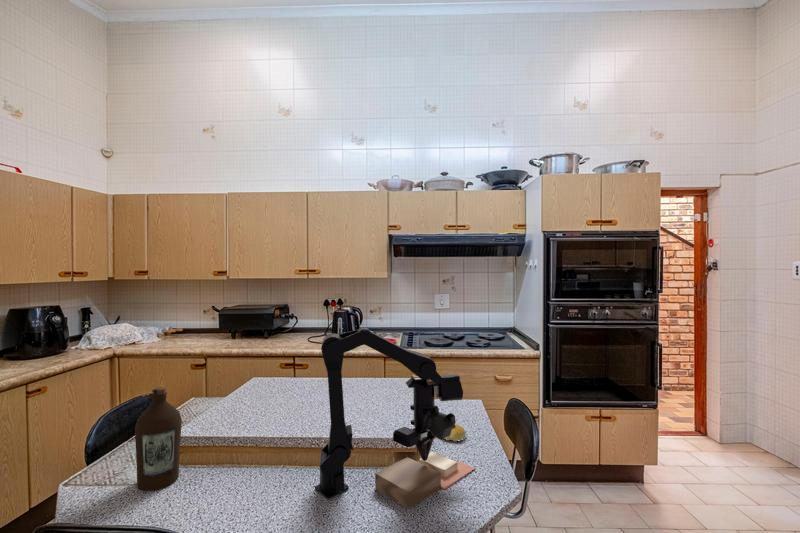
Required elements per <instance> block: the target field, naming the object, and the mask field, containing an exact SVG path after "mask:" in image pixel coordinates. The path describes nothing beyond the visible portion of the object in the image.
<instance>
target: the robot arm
mask: <svg viewBox="0 0 800 533" xmlns="http://www.w3.org/2000/svg"><path fill="white" fill-rule="evenodd" d="M364 345H365V346H367V347H369V349H370V348H371V349H373V350H374V351H377V352H378V353H380V354H382V355H384V356H386V357H388V358H390V359H392V360H394V361H396V362H398V363H400V364H402V365H403V366H404V367H405V368H406V369H408V370H409V371H410V372H411V373H412V374H414V375H415V376H416V377H418V378H415V377H413V376H410V378H409V379H408V380H407V381H406V382H405V384H406V386H407V387H408V388H409V389H410V388H411V389H412V390H413V392H412V393H413V404H411V405H409V406H410V410H411V411H413V419H411V420H410V423H411V425H413V426H414V427H415V428H413V429H410V428H408V427H405V426H404V427H401V428H399V429H397V430H396V429H395V430H394V431H393V432H392V442H395V443H396V444H398V443H399V444H401V445H403V446H406V447H412V446H414V445H416V449H417V452H418V454H419V456H420V458H422V460H424V461H426V460H427V459H428V455H429V453H431V448H432V445H433V442H434V440H435V439H438V440H443V439H444V438H445V437H447V436H450V434H451V431H452V429H454V428H455V427H456V426H455V425H456V421H457V420H456V416H455V414H454V413H452V412H450V413H448V414H446V413H443V412H440V411H439V410H440V408H439V406H438V405H435V397H436V399H437V398H438V399H439V401H440V402H448V401H449V402H450V401H451V402H452V401H462V399H463V397H464V389H463V385H462V382H461V377H460V375H459V374H457V373H456V374H450V375H441V374H440V373H439V372H438V371H437V365H436V362H435V360H433V359H431V357H430V356H428V355H427V354H426V353H422V352H417V351H415V350H412V349H411V350H410V349H406V348H404V347H402V346H401V345H398V344H396V343H394V342H392V341H391V340H390V339H386V338H385V337H383V336H381V335H379V334H377V333H375V332H373V331H371V330H370V329H369V328H367V327H360V328H358V329H355V330H351V331H347V332H346V331H345V332H341V333H332V332H331V333H329V334H327V335H325V336H324V338H323V339H322V342H321V347H320V348H321V353H322V354H321V355H322V359H323V362H324V363H323V364H324V366H325V369H326V374H327V384H328V385H327V386H328V398H329V400H328V401H329V402H328V403H329V415H330V425H329V426H330V427H329V432H328V433H329V435H328V442H327V443H326V444H325V445H324V446H323V448H321V450H320V455H319V456H320V459H319V484H317V485H314V489H315V491H317V492H319V493H320V494H321V495H323V497H325V498H326V499H331V498H333V497H335V496H337V495H339V494H341V493H343V492H345V491H347V490H348V489H349V487H350V486H349V485H348V484H346V483H345V473H344V472H345V466H344V465H345V463H346V462H348V461H349V458H351V456H352V451H354V450H355V448H354V441H353V440H354V439H353V426H352V424H348V425H347V423H346V421H345V406H344V394H343V377H342V376H343V374H342V370H343V363H344V354H345V353H347V352H349V351H352V350H354V349H356V348H358V347H361V346H364Z"/></svg>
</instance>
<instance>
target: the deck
mask: <svg viewBox="0 0 800 533" xmlns="http://www.w3.org/2000/svg"><path fill="white" fill-rule="evenodd" d="M374 474H375V475H374V476H375V477H374V479H375V482H374V484H375V485H374V487H375V488H374V490H377V491H378V492H380V493H382V494H383V495H385V496H386V497H388V498H390V499H391V500H393V501H394V502H396V503H397V504H400V505H401V506H403V507H405V509H407V510H410V509H411V508H413V507H415V506H417V505H418V504H420V503H421V502H422V501H424V500H426V499H428V497H430V496H432V495H433V494H435V493H436V492H438V491H440V490H442V488H441V473H440V472H438V471H435V470H433V469H431V468H429V467H427V466H425V465H423V464H421V463H419V461H417V460H414V459H412V458H410V457H405V458H403V459H401V460H399V461H397V462H395V463H393V464H390V465H389V466H387V467H385V468H383V469H381V470H379V471H377V472H375V473H374Z"/></svg>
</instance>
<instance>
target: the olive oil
mask: <svg viewBox="0 0 800 533" xmlns="http://www.w3.org/2000/svg"><path fill="white" fill-rule="evenodd" d="M151 391H152V392H151V393H152V394H151V403H150V404H149V406H148V407H147V408H146V409H145V410H144V411H143V412H142V413H141V414H140V415H139V417H138V418H137V421H136V423H135V426H134V439H135V440H134V441H135V442H134V443H135V459H136V463H135V464H136V486H137V487H136V488H137V489H138V490H139V491H141V492H155V491H160V490H162V489H165V488H167V487H169V486H171V485H173V484H174V483H175V482H177V480H178V479H179V476H180V473H179V471H180V452H181V436H182V423H183V422H182V415H181V412H180V411H179V410H178V409H177V408H176V407H174V406H173V405H172V404H171V403H169V402H168V401H167V387H166V386H157V387H154V388H152V389H151Z"/></svg>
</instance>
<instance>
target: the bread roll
mask: <svg viewBox="0 0 800 533" xmlns="http://www.w3.org/2000/svg"><path fill="white" fill-rule="evenodd" d="M455 426H456V427H455V428H454V429H452V431H451V434H450V436H447V437H445V438H444V439H447V440H454V441H458V440H462V439H464V437H465V438H466V436H465V435H467V431H466V430H465V428H464V427H463V426H461V425H458V424H455ZM464 440H465V439H464Z"/></svg>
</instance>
